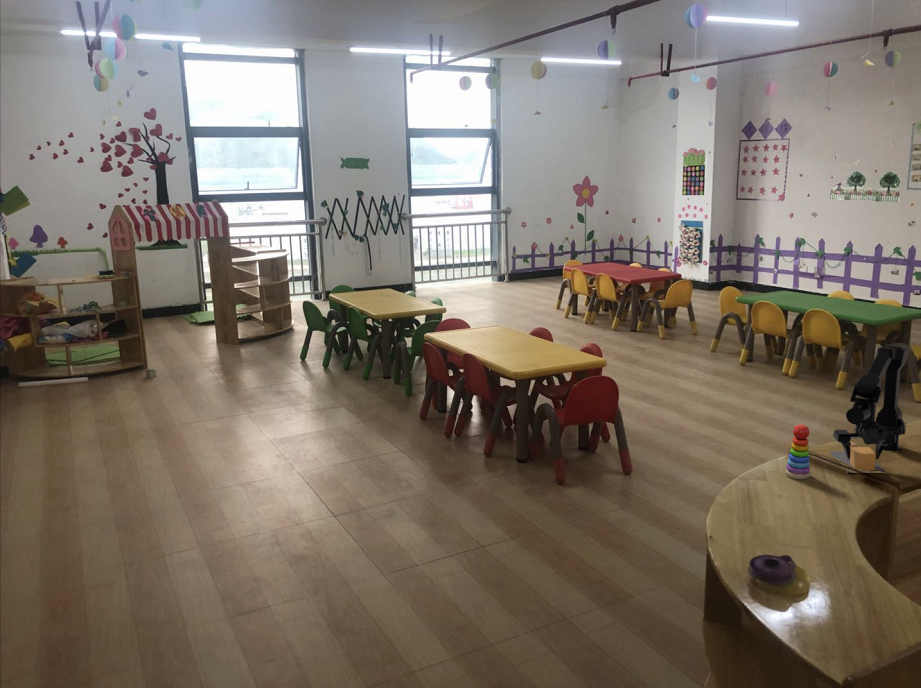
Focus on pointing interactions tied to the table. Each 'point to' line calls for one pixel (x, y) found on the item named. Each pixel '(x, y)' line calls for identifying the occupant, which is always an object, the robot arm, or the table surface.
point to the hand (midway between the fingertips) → (862, 458)
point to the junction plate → (843, 457)
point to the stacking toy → (799, 454)
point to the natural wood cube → (862, 458)
